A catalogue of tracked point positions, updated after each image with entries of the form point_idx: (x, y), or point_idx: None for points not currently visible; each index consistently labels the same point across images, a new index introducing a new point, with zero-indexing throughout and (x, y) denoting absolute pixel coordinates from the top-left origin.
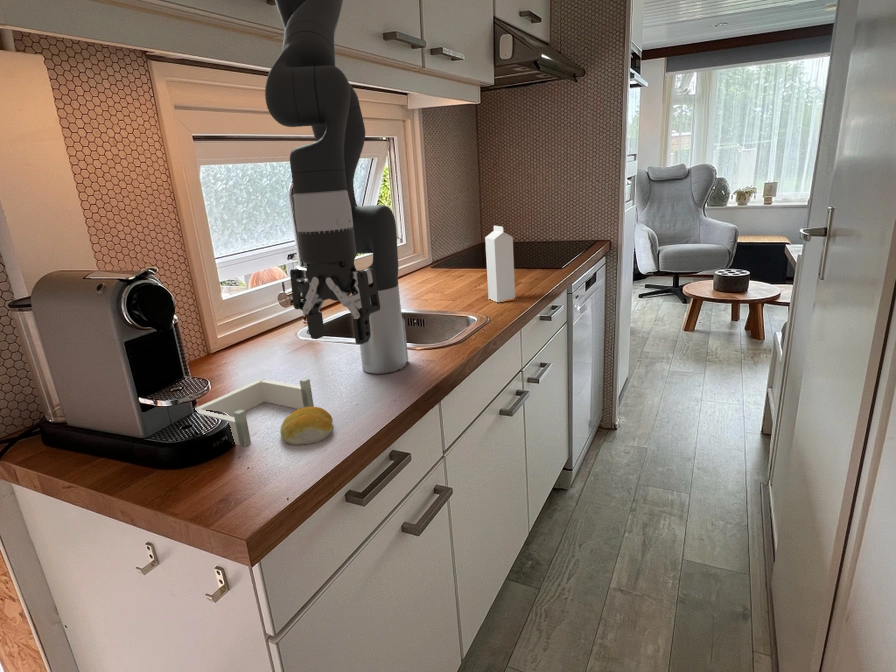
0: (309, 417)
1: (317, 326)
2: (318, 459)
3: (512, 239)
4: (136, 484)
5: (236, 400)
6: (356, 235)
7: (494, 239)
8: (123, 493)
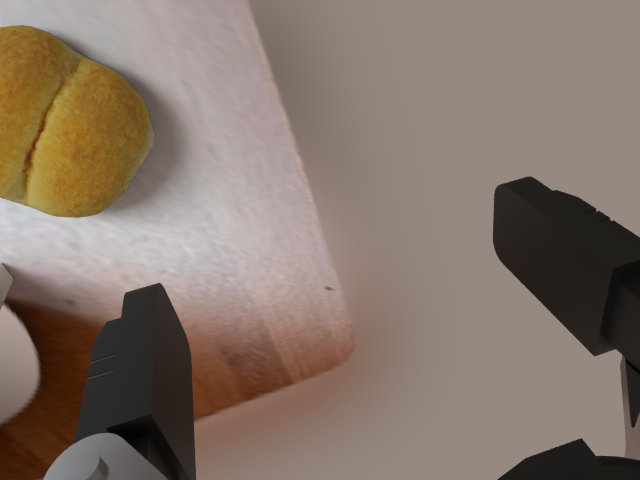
0: (99, 163)
1: (179, 375)
2: (242, 185)
3: None
4: (39, 450)
5: None
6: None
7: None
8: None
